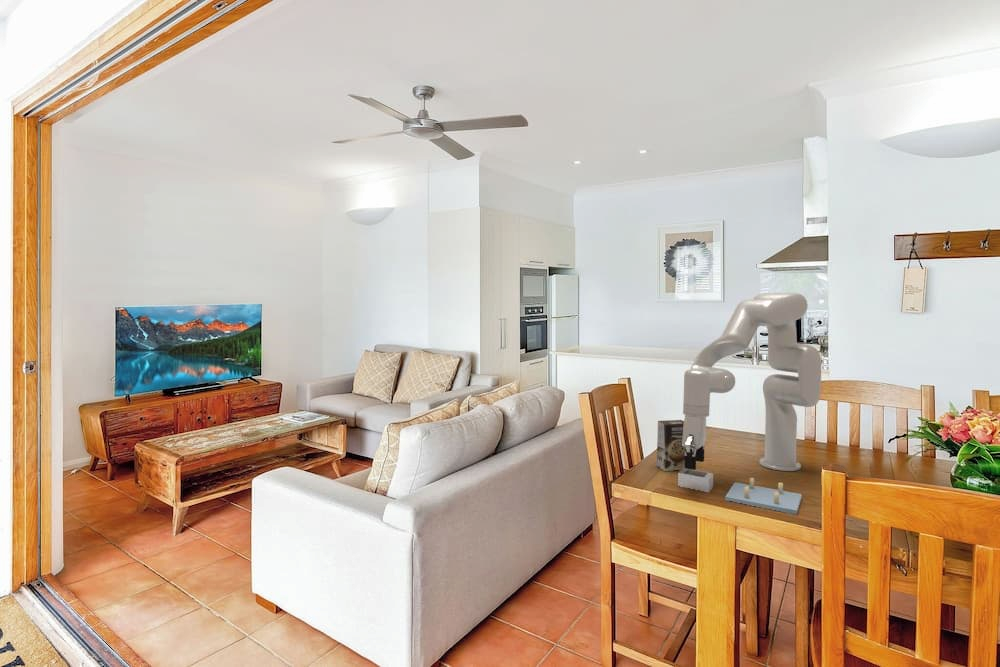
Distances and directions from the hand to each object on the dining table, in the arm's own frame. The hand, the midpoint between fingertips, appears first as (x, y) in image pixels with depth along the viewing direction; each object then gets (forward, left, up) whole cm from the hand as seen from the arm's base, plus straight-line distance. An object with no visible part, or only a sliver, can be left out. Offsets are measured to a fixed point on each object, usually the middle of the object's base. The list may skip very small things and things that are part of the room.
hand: (694, 464), depth 161 cm
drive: (-1, 0, -7) cm, 7 cm away
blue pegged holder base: (-1, +19, -7) cm, 21 cm away
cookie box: (-15, -11, -7) cm, 19 cm away
